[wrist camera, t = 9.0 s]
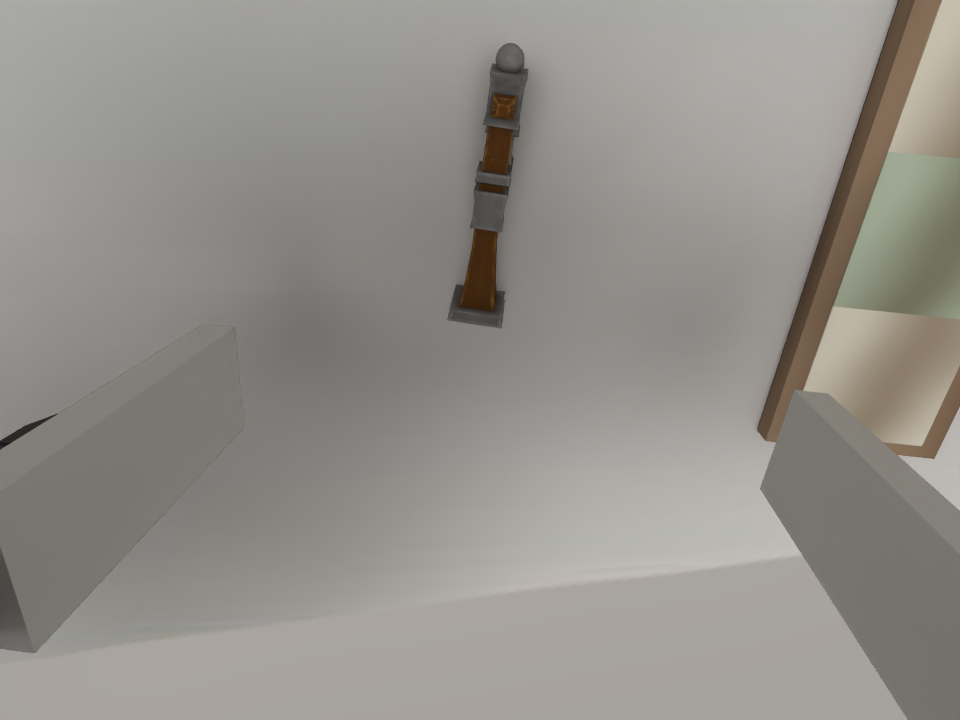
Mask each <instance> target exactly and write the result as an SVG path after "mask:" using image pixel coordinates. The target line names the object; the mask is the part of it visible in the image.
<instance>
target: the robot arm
mask: <svg viewBox="0 0 960 720" xmlns="http://www.w3.org/2000/svg"><path fill="white" fill-rule="evenodd" d="M243 429H244V422H243V411H242V400H241V389H240V379H239V368H238V357H237V346H236V335H235V327H226V326H217V325H208V324H202V325H201V326H199V327H198V328H196V329H194V330H193V331H191V332H190V333H188V334H186V335H185V336H183V337H182V338H180V339H178V340H177V341H175V342H173V343H172V344H170V345H169V346H167V347H165V348H164V349H162V350H161V351H159V352H157V353H156V354H154V355H152V356H151V357H149V358H148V359H146V360H144V361H143V362H141V363H140V364H138V365H136V366H135V367H133V368H131V369H130V370H128V371H127V372H125V373H123V374H122V375H120V376H119V377H117V378H115V379H114V380H112V381H110V382H109V383H107V384H106V385H104V386H102V387H101V388H99V389H98V390H96V391H94V392H93V393H91V394H89V395H88V396H86V397H85V398H83V399H81V400H80V401H78V402H77V403H75V404H73V405H72V406H70V407H68V408H67V409H65V410H64V411H62V412H60V413H59V414H56V415H53V416H50V417H47V418H45V419H42V420H39V421H37V422H34V423H31V424H29V425H26V426H24V427H22V428H21V429H19V430H17V431H16V432H14V433H12V434H11V435H9V436H7V437H6V438H4V439H2V440H1V441H0V649H7V650H15V651H22V652H30V653H35V652H36V651H37V650H38V649H39V648H40V647H41V646H42V645H43V644H44V643H45V642H46V641H47V640H48V638H49V637H50V636H51V635H52V634H53V633H54V632H55V631H56V630H57V629H58V628H59V627H60V626H61V624H62V623H63V622H64V621H65V620H66V619H67V618H68V617H69V616H70V615H71V614H72V613H73V612H74V610H75V609H76V608H77V607H78V606H79V605H80V604H81V603H82V602H83V601H84V600H85V599H86V598H87V596H88V595H89V594H90V593H91V592H92V591H93V590H94V589H95V588H96V587H97V586H98V585H99V584H100V582H101V581H102V580H103V579H104V578H105V577H106V576H107V575H108V574H109V573H110V572H111V571H112V570H113V568H114V567H115V566H116V565H117V564H118V563H119V562H120V561H121V560H122V559H123V558H124V557H125V556H126V554H127V553H128V552H129V551H130V550H131V549H132V548H133V547H134V546H135V545H136V544H137V543H138V542H139V540H140V539H141V538H142V537H143V536H144V535H145V534H146V533H147V532H148V531H149V530H150V529H151V528H152V527H153V525H154V524H155V523H156V522H157V521H158V520H159V519H160V518H161V517H162V516H163V515H164V514H165V513H166V511H167V510H168V509H169V508H170V507H171V506H172V505H173V504H174V503H175V502H176V501H177V500H178V499H179V497H180V496H181V495H182V494H183V493H184V492H185V491H186V490H187V489H188V488H189V487H190V486H191V485H192V483H193V482H194V481H195V480H196V479H197V478H198V477H199V476H200V475H201V474H202V473H203V472H204V471H205V469H206V468H207V467H208V466H209V465H210V464H211V463H212V462H213V461H214V460H215V459H216V458H217V457H218V455H219V454H220V453H221V452H222V451H223V450H224V449H225V448H226V447H227V446H228V445H229V444H230V443H231V441H232V440H233V439H234V438H235V437H236V436H237V435H238V434H239V433H240V432H241V431H242V430H243ZM760 490H761V491H762V493H763V494H764V496H765V497H766V499H767V501H768V502H769V504H770V505H771V507H772V508H773V510H774V511H775V513H776V515H777V516H778V518H779V519H780V521H781V522H782V524H783V526H784V527H785V529H786V530H787V532H788V533H789V535H790V536H791V538H792V540H793V541H794V543H795V544H796V546H797V547H798V549H799V551H800V552H801V554H802V555H803V557H804V558H805V560H806V561H807V563H808V565H809V566H810V568H811V569H812V571H813V572H814V573H815V576H816V577H817V579H818V580H819V582H820V583H821V585H822V586H823V588H824V589H825V591H826V592H827V594H828V596H829V597H830V599H831V600H832V602H833V604H834V605H835V607H836V608H837V610H838V611H839V613H840V614H841V616H842V618H843V619H844V621H845V622H846V624H847V625H848V627H849V629H850V630H851V632H852V633H853V635H854V636H855V638H856V639H857V641H858V643H859V644H860V646H861V647H862V649H863V650H864V652H865V654H866V655H867V657H868V658H869V660H870V661H871V663H872V665H873V666H874V668H875V669H876V671H877V672H878V674H879V675H880V677H881V679H882V680H883V682H884V683H885V685H886V687H887V688H888V690H889V691H890V693H891V694H892V696H893V697H894V699H895V700H896V702H897V704H898V705H899V707H900V708H901V710H902V711H903V713H904V714H905V716H906V718H907V719H908V720H960V511H959V510H958V509H957V508H956V507H955V506H954V505H953V504H951V503H950V502H949V501H948V500H947V499H946V498H945V497H944V496H942V495H941V494H940V493H939V492H938V491H937V490H936V489H935V488H934V487H932V486H931V485H930V484H929V483H928V482H927V481H926V480H925V479H923V478H922V477H921V476H920V475H919V474H918V473H917V472H916V471H915V470H913V469H912V468H911V467H910V466H909V465H908V464H907V463H906V462H904V461H903V460H902V459H901V458H900V457H899V456H898V455H897V454H895V453H894V452H893V451H892V450H891V449H890V448H889V447H888V446H887V445H885V444H884V443H883V442H882V441H881V440H880V439H879V438H878V437H876V436H875V435H874V434H873V433H872V432H871V431H870V430H869V429H868V428H866V427H865V426H864V425H863V424H862V423H861V422H860V421H859V420H857V419H856V418H855V417H854V416H853V415H852V414H851V413H850V412H848V411H847V410H846V409H845V408H844V407H843V406H842V405H841V404H840V403H838V402H837V401H836V400H835V399H834V398H833V397H832V396H831V395H829V394H828V393H819V392H810V391H801V390H794V393H793V396H792V398H791V401H790V404H789V407H788V410H787V413H786V416H785V419H784V421H783V424H782V427H781V430H780V433H779V436H778V439H777V441H776V444H775V447H774V450H773V453H772V456H771V459H770V462H769V464H768V467H767V470H766V473H765V476H764V479H763V482H762V484H761V487H760Z"/></svg>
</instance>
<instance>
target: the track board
mask: <svg viewBox="0 0 960 720" xmlns="http://www.w3.org/2000/svg"><path fill="white" fill-rule="evenodd" d="M794 390H801V391H810V392H819V393H828V394H829V395H831V396H832V397H833V398H834V399H835V400H836V401H837V402H838V403H840V404H841V405H842V406H843V407H844V408H845V409H846V410H847V411H848V412H850V413H851V414H852V415H853V416H854V417H855V418H856V419H857V420H859V421H860V422H861V423H862V424H863V425H864V426H865V427H866V428H868V429H869V430H870V431H871V432H872V433H873V434H874V435H875V436H876V437H878V438H879V439H880V440H881V441H882V442H883V443H884V444H885V445H887V446H888V447H889V448H890V449H891V450H892V451H893V452H894V453H895V454H897V455H904V456H913V457H923V458H932V459H934V458H935V456H936V454H937V452H938V450H939V448H940V446H941V444H942V442H943V440H944V438H945V436H946V434H947V432H948V429H949V427H950V425H951V423H952V421H953V419H954V417H955V415H956V413H957V411H958V409H959V407H960V0H899V1H898V4H897V7H896V10H895V13H894V16H893V19H892V23H891V26H890V29H889V32H888V35H887V38H886V41H885V44H884V47H883V50H882V53H881V56H880V59H879V62H878V65H877V68H876V71H875V74H874V77H873V80H872V83H871V86H870V89H869V92H868V95H867V98H866V102H865V105H864V108H863V111H862V114H861V117H860V120H859V123H858V126H857V129H856V132H855V135H854V138H853V141H852V144H851V147H850V150H849V153H848V156H847V159H846V162H845V165H844V168H843V171H842V174H841V177H840V181H839V184H838V187H837V190H836V193H835V196H834V199H833V202H832V205H831V208H830V211H829V214H828V217H827V220H826V223H825V226H824V229H823V232H822V235H821V238H820V241H819V244H818V247H817V250H816V253H815V257H814V260H813V263H812V266H811V269H810V272H809V275H808V278H807V281H806V284H805V287H804V290H803V293H802V296H801V299H800V302H799V305H798V308H797V311H796V314H795V317H794V320H793V323H792V326H791V329H790V332H789V336H788V339H787V342H786V345H785V348H784V351H783V354H782V357H781V360H780V363H779V366H778V369H777V372H776V375H775V378H774V381H773V384H772V387H771V390H770V393H769V396H768V399H767V402H766V405H765V408H764V411H763V415H762V418H761V421H760V424H759V427H758V430H757V431H758V432H759V433H760V434H761V436H762V437H763V438H764V439H765V441H772V442H776V441H777V439H778V436H779V433H780V430H781V427H782V424H783V421H784V419H785V416H786V413H787V410H788V407H789V404H790V401H791V398H792V396H793V393H794Z"/></svg>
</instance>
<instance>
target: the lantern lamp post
mask: <svg viewBox="0 0 960 720" xmlns="http://www.w3.org/2000/svg"><path fill="white" fill-rule="evenodd" d="M523 67H524V53H523V51H522V50H521V48H520V47H519V46H518V45H516V44H513V43H508V44H505V45H504V46H502V47H501V48H500V49H499V51H498V53H497V56H496V64H493V63H492V67H491V71H490V89H489V97H488V104H487V112H486V116H485V120H484V124H483V125H487V126H486V130H485V132H487V139H486V145H485V152H484V158H483V162H482V161H480V162H479V165H478V169H477V176H476V179H475V182H476V186H475V189H474V198H475V201H474V211H473V218H472V222H471V226H470V228H474V235H473V243H472V250H471V255H470V260H469V265H468V270H467V275H466V280H465V283H464V286H463V285H457V284H456V287H455V291H454V295H453V298H452V302H451V306H450V311H449V315H448V318H447V320H449V321H456V322H463V323H469V324H476V325H483V326H490V327H496V328H502V320H503V311H504V302H505V300H504V295H505V292H504V291H497V290H496V252H497V236H498V232H502V227H503V220H504V207H505V203H506V200H507V197H508V191H509V187H510V180H511V172H512V164H513V157H512V147H513V138H514V136H515V137H519V130H520V125H519V121H520V110H521V104H522V98H523V92H524V87H525V84H526V81H527V78H528V69H524V68H523Z"/></svg>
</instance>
